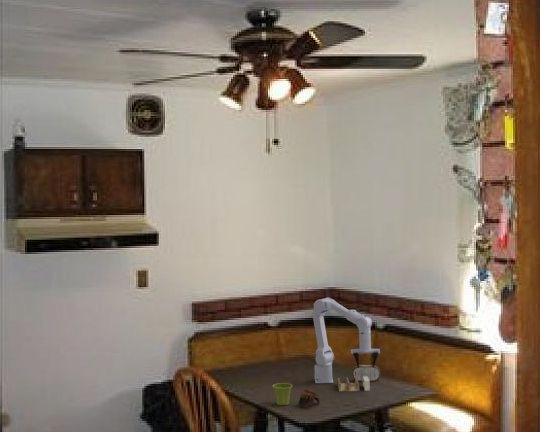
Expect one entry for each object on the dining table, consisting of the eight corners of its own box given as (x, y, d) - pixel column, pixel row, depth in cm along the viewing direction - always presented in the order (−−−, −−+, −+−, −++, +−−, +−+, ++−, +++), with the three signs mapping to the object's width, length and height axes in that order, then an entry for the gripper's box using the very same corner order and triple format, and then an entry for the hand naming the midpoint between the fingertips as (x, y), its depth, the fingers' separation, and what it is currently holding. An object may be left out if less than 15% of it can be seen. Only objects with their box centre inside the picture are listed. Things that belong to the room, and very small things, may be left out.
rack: (339, 391, 325) (339, 383, 325) (337, 384, 337) (337, 377, 337) (359, 390, 325) (359, 383, 325) (357, 384, 337) (356, 377, 337)
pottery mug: (294, 404, 307) (300, 388, 309) (312, 412, 307) (318, 396, 310) (301, 405, 295) (307, 388, 298) (319, 413, 296) (325, 396, 299)
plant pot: (279, 399, 314) (278, 381, 314) (296, 402, 309) (295, 384, 309) (269, 405, 306) (268, 386, 305) (286, 407, 301) (286, 389, 301)
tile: (364, 390, 325) (364, 381, 325) (362, 386, 334) (362, 376, 334) (369, 390, 325) (369, 380, 325) (367, 385, 334) (367, 376, 334)
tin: (380, 380, 344) (380, 364, 344) (381, 381, 341) (380, 365, 341) (352, 380, 346) (351, 364, 346) (352, 381, 343) (351, 365, 343)
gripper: (351, 342, 326) (352, 369, 326) (380, 342, 325) (381, 369, 325) (350, 339, 333) (350, 366, 333) (378, 339, 332) (379, 365, 332)
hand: (365, 367), depth 330 cm, fingers open, 7 cm apart
